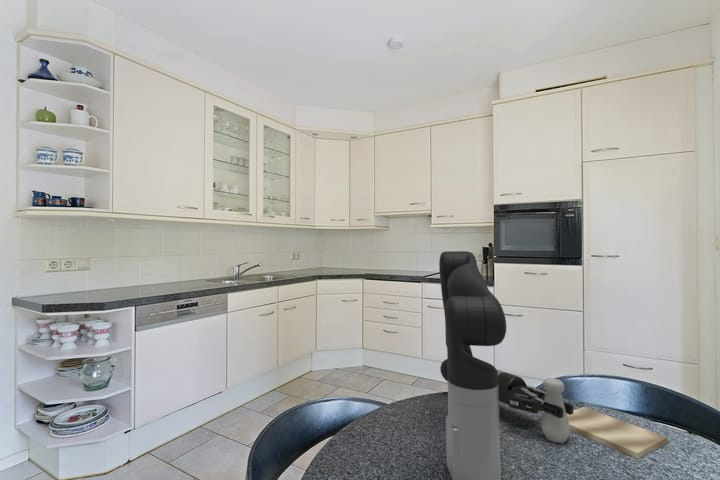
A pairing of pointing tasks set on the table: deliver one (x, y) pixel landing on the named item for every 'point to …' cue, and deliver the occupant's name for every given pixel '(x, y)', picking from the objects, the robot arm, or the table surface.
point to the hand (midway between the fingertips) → (567, 411)
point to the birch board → (615, 432)
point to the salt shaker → (553, 425)
